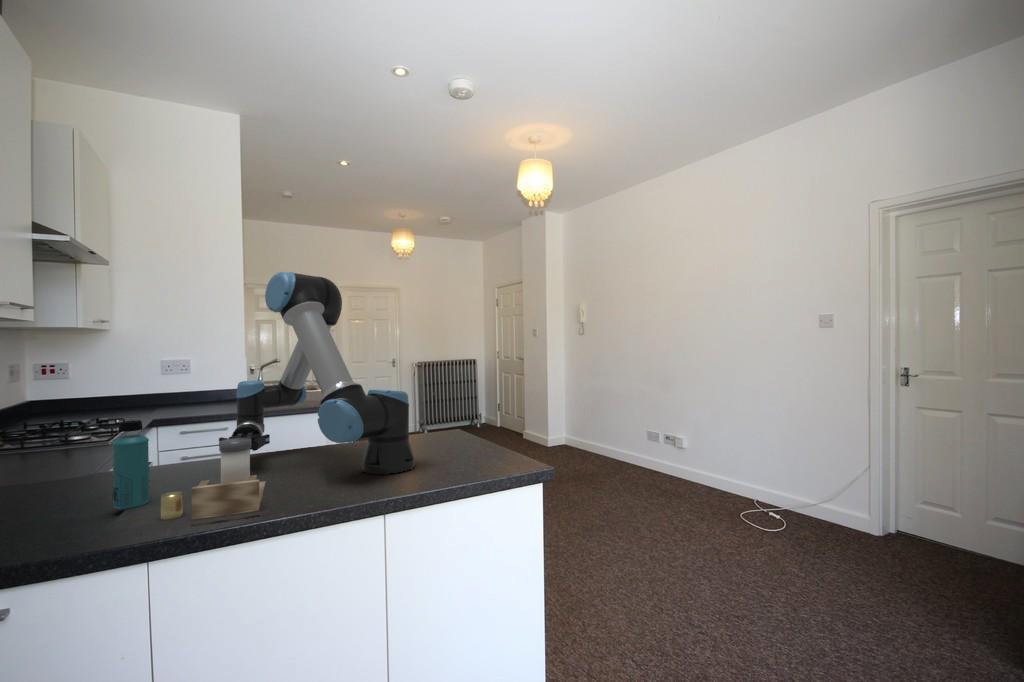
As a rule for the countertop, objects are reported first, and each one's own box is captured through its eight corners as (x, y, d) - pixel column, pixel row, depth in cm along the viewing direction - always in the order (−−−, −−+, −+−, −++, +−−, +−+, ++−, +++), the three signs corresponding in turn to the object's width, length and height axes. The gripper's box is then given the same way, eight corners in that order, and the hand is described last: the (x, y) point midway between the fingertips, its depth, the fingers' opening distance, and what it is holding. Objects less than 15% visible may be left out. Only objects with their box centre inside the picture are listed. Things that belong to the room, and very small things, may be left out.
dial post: (184, 519, 99) (184, 490, 99) (180, 525, 96) (180, 495, 96) (163, 522, 97) (163, 493, 97) (158, 528, 94) (158, 498, 94)
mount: (265, 487, 121) (265, 457, 121) (258, 517, 100) (258, 481, 100) (210, 493, 116) (210, 463, 116) (191, 527, 95) (191, 489, 95)
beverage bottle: (157, 507, 106) (157, 418, 107) (126, 517, 100) (126, 423, 100) (135, 505, 108) (135, 417, 108) (103, 515, 102) (103, 422, 102)
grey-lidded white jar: (252, 485, 117) (252, 437, 117) (250, 493, 111) (249, 441, 111) (221, 489, 114) (221, 439, 114) (217, 497, 108) (217, 444, 108)
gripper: (271, 446, 144) (267, 464, 122) (221, 450, 138) (207, 470, 117) (271, 421, 144) (267, 435, 122) (222, 424, 138) (208, 440, 117)
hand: (238, 452), depth 119 cm, fingers closed
